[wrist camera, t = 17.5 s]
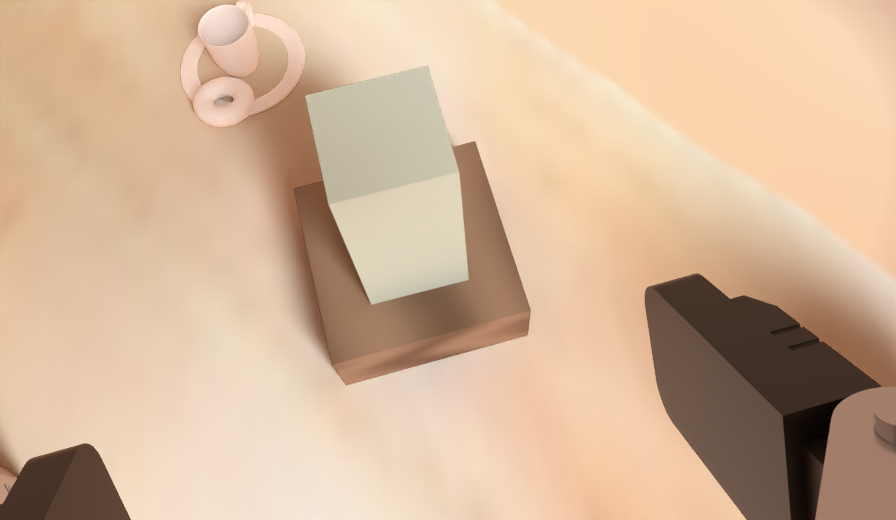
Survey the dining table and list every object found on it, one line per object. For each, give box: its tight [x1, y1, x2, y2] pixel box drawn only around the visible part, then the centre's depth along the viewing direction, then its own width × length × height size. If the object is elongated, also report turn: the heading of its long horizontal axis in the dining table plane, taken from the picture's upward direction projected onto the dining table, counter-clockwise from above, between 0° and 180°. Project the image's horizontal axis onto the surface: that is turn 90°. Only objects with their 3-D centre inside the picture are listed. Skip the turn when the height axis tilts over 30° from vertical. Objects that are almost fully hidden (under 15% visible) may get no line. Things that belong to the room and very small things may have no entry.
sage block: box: [305, 66, 469, 305], centre depth 36 cm, size 5×5×11 cm
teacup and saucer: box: [180, 0, 305, 127], centre depth 49 cm, size 9×8×4 cm
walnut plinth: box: [294, 141, 531, 385], centre depth 43 cm, size 10×10×4 cm
